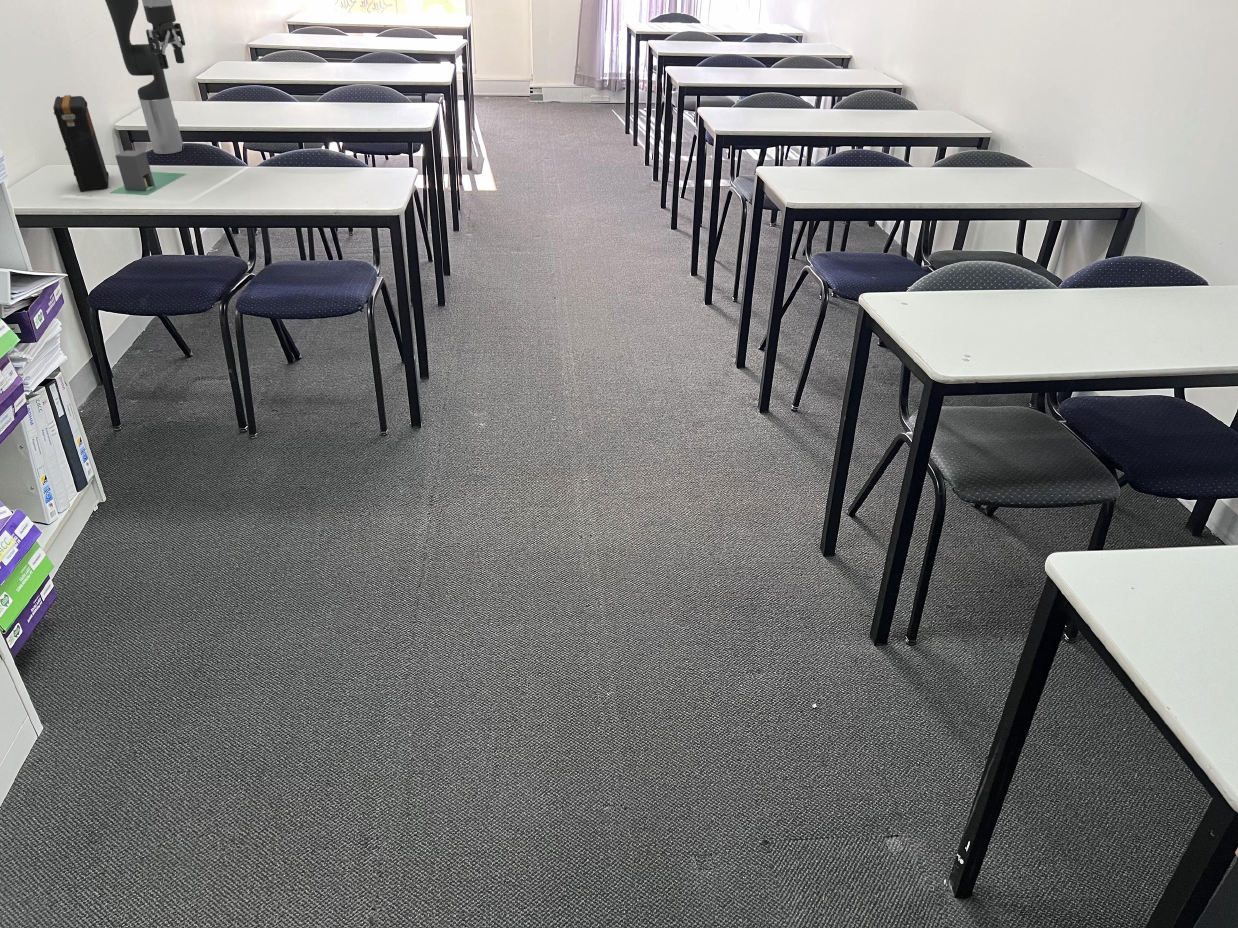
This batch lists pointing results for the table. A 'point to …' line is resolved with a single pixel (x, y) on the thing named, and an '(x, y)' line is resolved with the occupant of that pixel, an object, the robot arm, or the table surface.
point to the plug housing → (134, 170)
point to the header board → (159, 182)
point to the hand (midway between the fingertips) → (172, 66)
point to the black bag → (81, 142)
